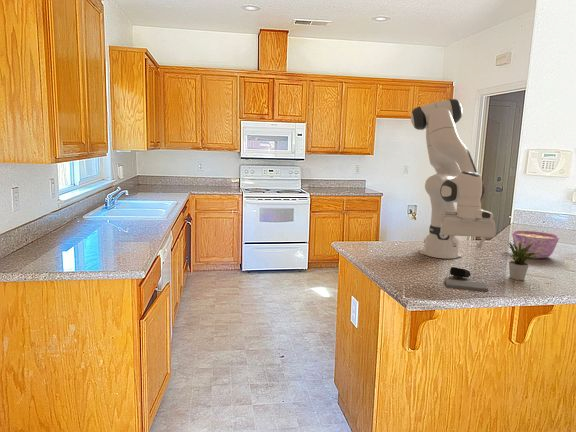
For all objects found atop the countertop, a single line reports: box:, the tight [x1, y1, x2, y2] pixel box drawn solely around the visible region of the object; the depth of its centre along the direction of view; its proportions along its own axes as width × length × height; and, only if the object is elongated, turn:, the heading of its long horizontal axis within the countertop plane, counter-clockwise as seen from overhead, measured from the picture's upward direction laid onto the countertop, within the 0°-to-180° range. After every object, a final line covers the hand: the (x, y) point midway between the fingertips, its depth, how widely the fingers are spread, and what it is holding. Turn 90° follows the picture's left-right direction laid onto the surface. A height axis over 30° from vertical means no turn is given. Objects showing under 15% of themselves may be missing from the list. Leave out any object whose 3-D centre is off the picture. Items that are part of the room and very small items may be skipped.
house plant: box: [499, 239, 537, 281], centre depth 170 cm, size 14×14×16 cm
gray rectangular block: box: [444, 278, 489, 292], centre depth 158 cm, size 8×14×1 cm, turn 75°
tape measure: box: [449, 266, 472, 279], centre depth 168 cm, size 7×7×4 cm
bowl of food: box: [511, 230, 560, 259], centre depth 208 cm, size 20×20×12 cm
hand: (466, 247), depth 170 cm, fingers open, 8 cm apart
